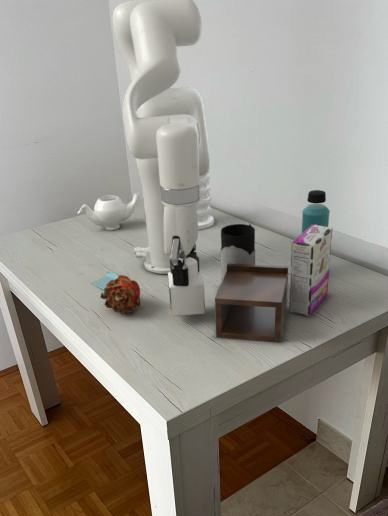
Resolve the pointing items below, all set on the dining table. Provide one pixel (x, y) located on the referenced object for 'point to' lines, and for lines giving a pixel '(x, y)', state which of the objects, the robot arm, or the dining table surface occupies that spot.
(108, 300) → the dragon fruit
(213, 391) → the dining table surface
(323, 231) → the candy bar box
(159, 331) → the dining table surface
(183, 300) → the medicine bottle
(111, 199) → the teapot
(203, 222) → the decorative container
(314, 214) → the beverage bottle
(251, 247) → the black and white mug
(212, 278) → the dining table surface
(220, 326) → the dark wooden cubby
